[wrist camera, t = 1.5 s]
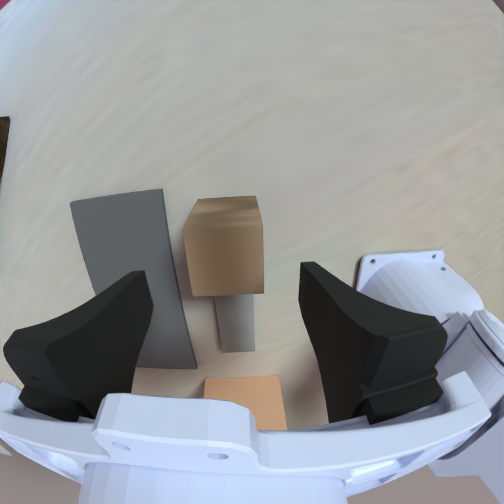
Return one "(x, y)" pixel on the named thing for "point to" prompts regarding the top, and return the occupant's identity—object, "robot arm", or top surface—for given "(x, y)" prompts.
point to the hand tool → (3, 140)
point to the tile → (252, 397)
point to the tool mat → (137, 266)
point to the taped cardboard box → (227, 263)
